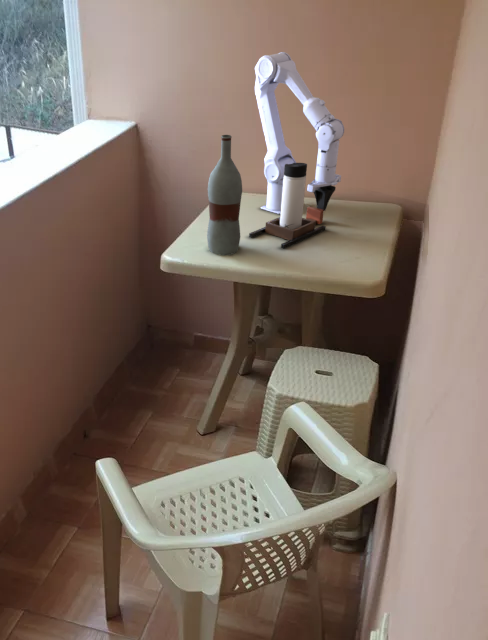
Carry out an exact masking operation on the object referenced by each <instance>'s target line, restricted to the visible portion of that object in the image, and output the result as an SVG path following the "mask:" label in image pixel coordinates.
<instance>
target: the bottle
mask: <svg viewBox="0 0 488 640" xmlns="http://www.w3.org/2000/svg"><path fill="white" fill-rule="evenodd" d="M220 138H221V140H220V141H221V142H220V158H219V160H218V161H217V163H216V165H215V166H214V168H213V169H212V171H211V172H210V174H209V177H208V183H207V199H208V214H209V215H208V216H209V217H208V218H209V219H208V225H207V231H206V239H207V247H208V251H209V252H210V253H211V254H214V255H216V256H217V255H218V256H229V255H233V254H235V253H237V252H238V250H239V247H240V241H241V226H240V210H241V204H242V195H243V181H242V180H243V179H242V177H241V176H242V175H241V173H240V171H239V170H238V168H237V166H236V163H234V161H233V159H232V135H231V134H223V135H221V136H220Z"/></svg>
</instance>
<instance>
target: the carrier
mask: <svg viewBox="0 0 488 640" xmlns="http://www.w3.org/2000/svg"><path fill="white" fill-rule="evenodd" d="M324 214H325V211H324V210H322V209H318V208H317V207H315V206H311V205H310V206H307V207H306V215H305V218H304V217H302V224H301V227H299V228H296V229H294V230H292V229H289V228H285V227H282V226H280V216H279V217H276V218H274V219H272V220H269V221H266V222H265V226H264V227H265V233H266V234H268V235H271V236H274V237H278V238H280V239H283V240H284V239H285V240H287V241H289V240H291V239H294V238H296V237H298V236H300V235H303V234H305V233H307V232H309V231H312V230H314V229H316V225H321V224H323V223H324V222H323V221H324ZM265 233H264V234H265Z"/></svg>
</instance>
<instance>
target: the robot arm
mask: <svg viewBox="0 0 488 640" xmlns="http://www.w3.org/2000/svg"><path fill="white" fill-rule="evenodd" d="M291 57H292V56H291V55H289V53H287V52H285V51H281V52H278V53H273V54H269V55H268V54H265V55H262V56H261V57H260V58H259V59H258V60H257V63H256V65H255V66H254V72H255V83H254V94H255V97H256V102H257V108H258V112H259V117H260V122H261V125H262V131H263V135H264V139H265V144H266V149H267V151H266V154H265V156H264V157H263V158H264V159H263V161H264V162H263V163H264V168H263V174H264V177H265V179H266V180H267V181H266V182H267V188H266V189H267V191H266V192H267V193H266V204H265V205H261V206H260V209H261V210H264V211H267V212H271V213H274V214H277V215H280V214H281V202H282V190H283V177H284V167H285V164H293V163H297V161H296V159H295V158H294V156H293V153H292V150H291V149H290V148H289V147H288V146H286V141H285V136H284V132H283V127H282V123H281V117H280V113H279V107H278V103H277V102H278V101H277V98H276V93H275V91H276V89H277V87H278V86H279V84H283V85H286V86H287V87H288V88H289V89H290V90H291V92H292V93H293V94H294V96H295V97H296V98H297V99H298V101H299V102H300V103H301V105H303V108H302V112H303V114H304V115H305V117H306V118H307V120H308V122H309V123H310V124H311V125H312V127H313V128H314V130H315V131H316V132H315V137H316V140H317V143H318V145H317V147H318V149H317V157H316V158H317V159H316V167H315V175H314V179H313V180H312V181H311V182H310V183H308V184H307V188H306V191H307V192H308V193H311V194H312V193H313V196H314V197H315V203H316V208H318V209H322V210H324V212H325V211H326V210H327V207H328V204H329V202H330V199H331V197H332V196H333V194H334V193H335V191H336V186H337V185H338V184H339V183H341V181H342V174H338V173H336V172H337V166H338V165H337V164H338V156H339V150H340V149H339V147H340V140H341V139H342V138H343V136H344V134H345V126H344V123H343V122H342V120H341V119H339V118H335V116H334V114H332V113H331V111H329V109H328V108H327V106H326V101H324V99H321V98H320V97H315V96H314V95H313V93H312V92H311V91H310V88H309V87H308V86H307V84H306V82H305V81H304V79H303V77H302V76H301V74H300V73H299V71H298V68H297V65H296V62H295V61H294V60H293V59H292V58H291Z"/></svg>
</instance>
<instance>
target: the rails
mask: <svg viewBox="0 0 488 640" xmlns="http://www.w3.org/2000/svg"><path fill="white" fill-rule="evenodd" d="M265 227H266V226H264V227H261V228H259V229H256V230H254V231H252V232H251V231H250V232H249V234H248V238H250V239H253V238H255V237H258V236H259V235H263V234H265ZM326 227H327V225H320V226H318V227H315V229H314V230H312V231H309V232H307V233H305V234H303V235H300V236H298V237H296V238H294V239H291V240H287V241H284V242H282V243H281V245H280V249H286V248H289V247H292V246H294V245H296V244H297V243H300V242H302V241H304V240H305V241H306V240H307V239H310V238H311V237H314V236H316V235H318V234H320V233H322V232H324V231H326Z"/></svg>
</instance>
